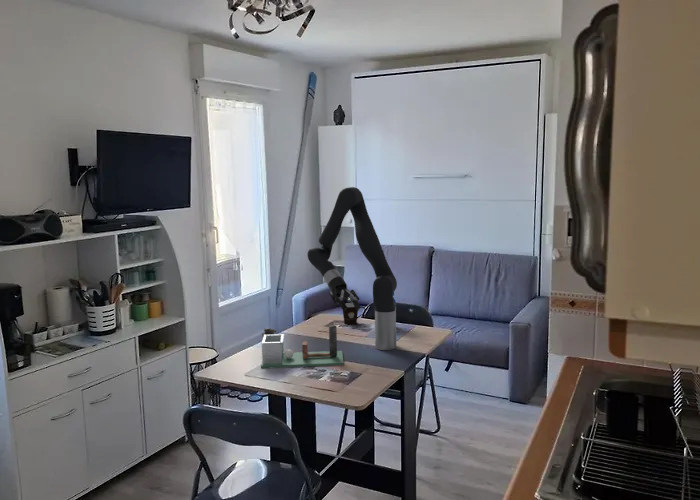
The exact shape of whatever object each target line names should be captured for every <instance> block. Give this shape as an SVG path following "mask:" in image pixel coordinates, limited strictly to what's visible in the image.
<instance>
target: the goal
mask: <svg viewBox="0 0 700 500" xmlns="http://www.w3.org/2000/svg"><path fill="white" fill-rule="evenodd" d="M275 334H276V335H264V337H262V341H261V356H262V357H261V359H262V361H261V363H262V362H263V364H280V363H282V355H284V352H285V350H284V340H285V334H284V333H283V334H278V333H275Z"/></svg>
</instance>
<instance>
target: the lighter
mask: <svg viewBox="0 0 700 500" xmlns="http://www.w3.org/2000/svg"><path fill="white" fill-rule="evenodd" d="M263 331H264V332H262V333H261V336H262V337H261V338H263V337H264V335H276V334H277V329H276V328H275V329H274V328H271V327H269V328H267V327H266V328H264V329H263Z"/></svg>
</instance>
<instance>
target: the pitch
mask: <svg viewBox="0 0 700 500" xmlns="http://www.w3.org/2000/svg"><path fill="white" fill-rule="evenodd" d="M308 353H330V350H328V351H326V350H325V351H308ZM330 366H332V367H333V366H345V364H344V355H343V350H337V356H336V357H308V358H307V359H303V352H302V351H300V352H298V351H297V352H295V351H294V352H293V357H292V358H290V359H287V358H285V357H284V355H282V363H280V364H263V362H262V361H261V365H260V369H270V368H271V369H272V368H273V369H274V368H275V369H276V368H299V367H300V368H301V367H304V368H305V367H330Z"/></svg>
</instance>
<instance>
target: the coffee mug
mask: <svg viewBox="0 0 700 500" xmlns="http://www.w3.org/2000/svg"><path fill="white" fill-rule="evenodd" d="M345 304H346V306H347V309H346V310H343V309H342V317H343V322H344V325H345V326H354V325H357V324H358V319H359V318H361V317H362V316H363V315H364V314H365V313H366V308H365V307H364V306H360V309H363V312H362V313H361V314H360V315H358V313H359V310H356V308H355V306H354V305H353V303H352V302H348V303H345Z"/></svg>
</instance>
